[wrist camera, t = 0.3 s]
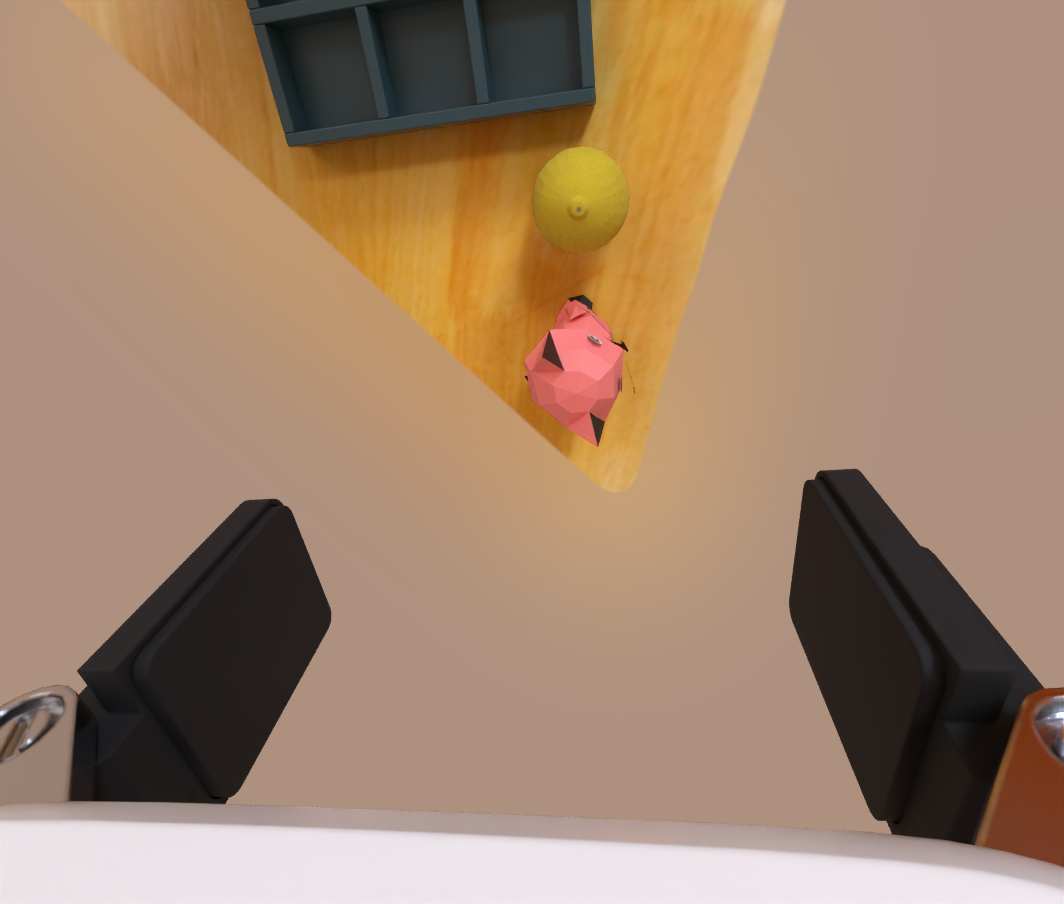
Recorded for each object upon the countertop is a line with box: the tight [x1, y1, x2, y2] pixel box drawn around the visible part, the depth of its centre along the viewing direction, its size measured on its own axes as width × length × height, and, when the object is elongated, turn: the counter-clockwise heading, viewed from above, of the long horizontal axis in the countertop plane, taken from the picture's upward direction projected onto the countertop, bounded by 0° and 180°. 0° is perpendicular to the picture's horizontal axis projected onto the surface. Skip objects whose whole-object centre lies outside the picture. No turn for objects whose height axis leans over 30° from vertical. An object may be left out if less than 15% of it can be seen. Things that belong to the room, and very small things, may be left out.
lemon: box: [532, 146, 629, 253], centre depth 32 cm, size 6×6×8 cm
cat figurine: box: [524, 295, 635, 447], centre depth 34 cm, size 7×7×12 cm
